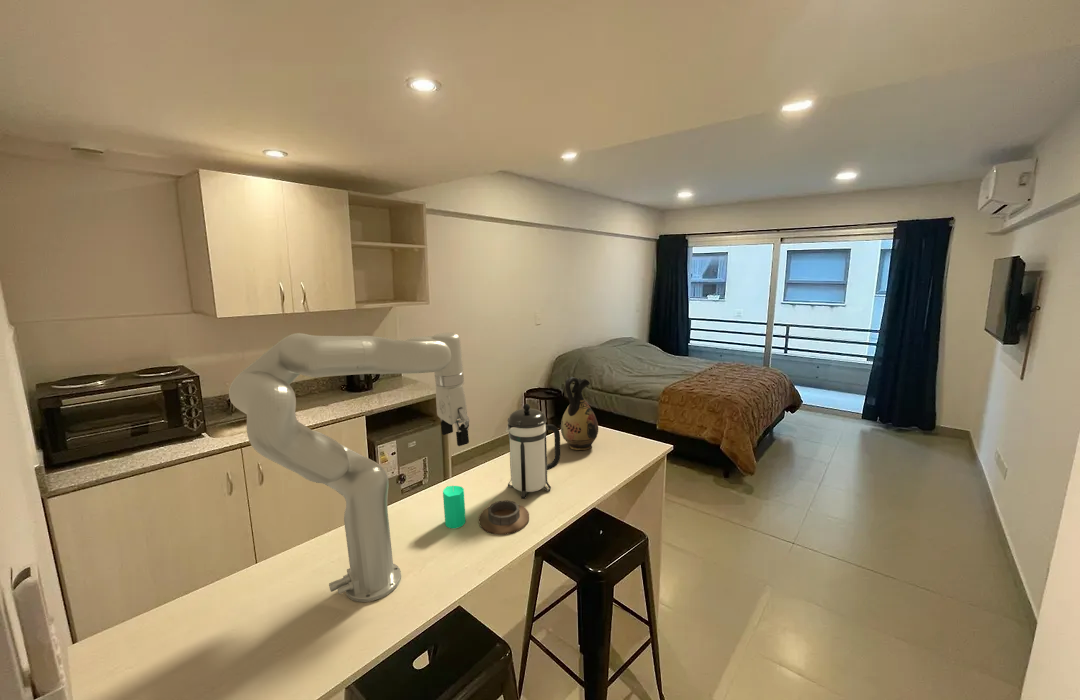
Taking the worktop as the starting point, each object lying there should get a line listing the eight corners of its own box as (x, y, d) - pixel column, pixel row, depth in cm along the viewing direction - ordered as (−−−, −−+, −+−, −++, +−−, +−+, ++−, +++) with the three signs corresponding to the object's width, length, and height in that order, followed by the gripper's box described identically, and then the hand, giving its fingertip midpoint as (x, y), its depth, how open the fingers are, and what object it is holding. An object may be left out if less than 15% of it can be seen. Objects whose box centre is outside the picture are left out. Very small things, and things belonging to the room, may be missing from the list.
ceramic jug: (579, 435, 192) (578, 369, 186) (605, 446, 180) (606, 376, 174) (550, 446, 181) (549, 377, 175) (576, 458, 169) (576, 384, 164)
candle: (441, 523, 129) (438, 485, 127) (457, 514, 133) (455, 478, 131) (453, 531, 125) (450, 492, 123) (469, 522, 129) (467, 484, 127)
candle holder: (496, 541, 120) (495, 530, 119) (469, 517, 131) (469, 507, 131) (539, 521, 129) (539, 510, 128) (510, 500, 140) (510, 490, 140)
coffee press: (546, 503, 138) (544, 413, 132) (500, 496, 143) (496, 409, 137) (561, 478, 154) (560, 397, 148) (519, 472, 159) (516, 393, 154)
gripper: (423, 375, 121) (429, 433, 125) (450, 389, 107) (456, 453, 111) (448, 370, 125) (453, 426, 129) (477, 383, 112) (482, 445, 115)
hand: (455, 438), depth 120 cm, fingers open, 9 cm apart
